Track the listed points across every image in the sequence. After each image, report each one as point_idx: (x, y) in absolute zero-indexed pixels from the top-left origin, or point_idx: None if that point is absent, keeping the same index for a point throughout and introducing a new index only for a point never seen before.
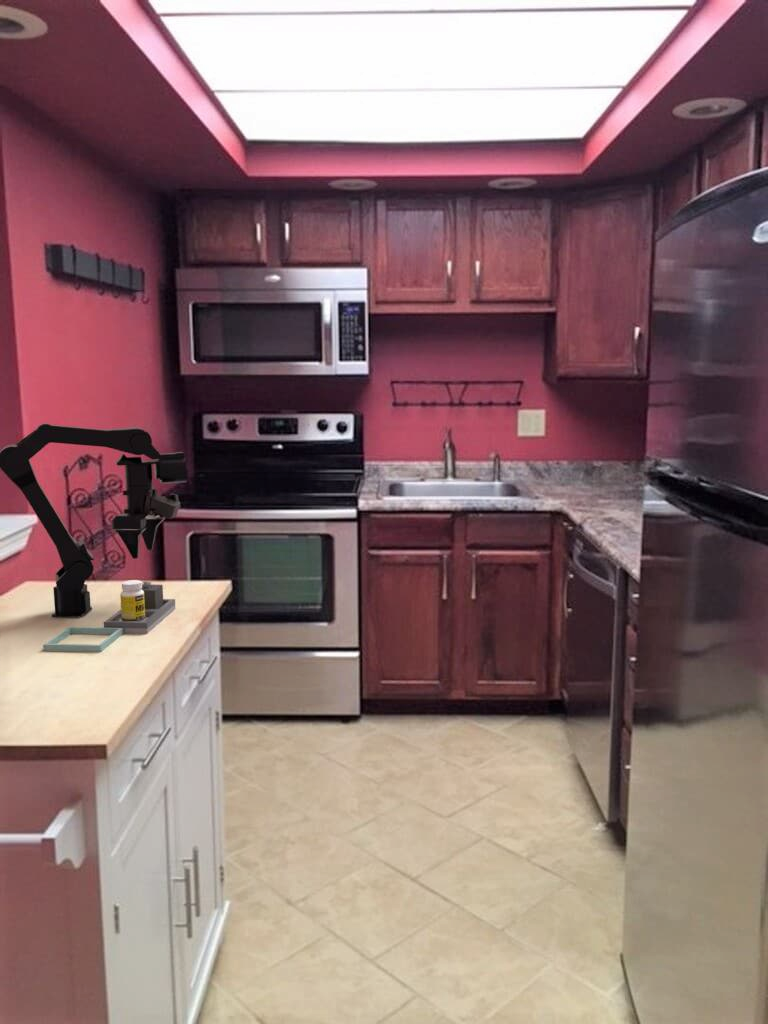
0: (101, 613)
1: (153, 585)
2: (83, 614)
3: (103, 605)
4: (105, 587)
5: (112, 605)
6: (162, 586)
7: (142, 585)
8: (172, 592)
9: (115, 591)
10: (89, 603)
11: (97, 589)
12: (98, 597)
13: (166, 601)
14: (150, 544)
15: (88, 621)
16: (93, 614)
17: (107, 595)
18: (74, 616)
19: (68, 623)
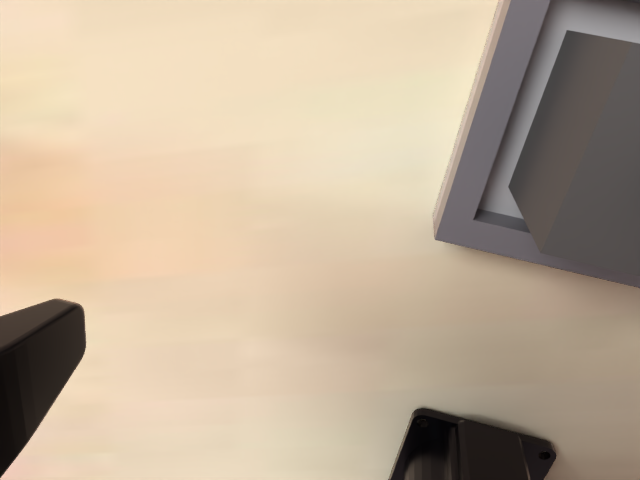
0: (494, 366)
1: (634, 133)
2: (521, 436)
3: (341, 366)
4: None
5: (348, 330)
6: (628, 41)
7: (590, 232)
8: (86, 35)
9: (94, 334)
10: (476, 447)
11: (69, 401)
12: (198, 391)
13: (545, 10)
14: (33, 365)
15: (633, 408)
16: (502, 395)
17: (164, 361)
18: (547, 465)
19: (633, 475)
